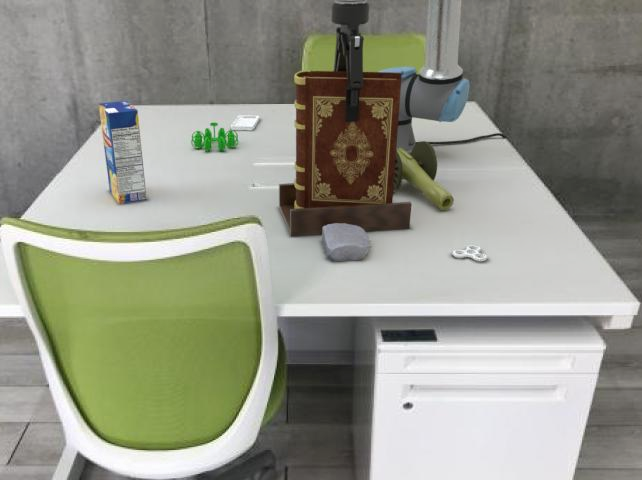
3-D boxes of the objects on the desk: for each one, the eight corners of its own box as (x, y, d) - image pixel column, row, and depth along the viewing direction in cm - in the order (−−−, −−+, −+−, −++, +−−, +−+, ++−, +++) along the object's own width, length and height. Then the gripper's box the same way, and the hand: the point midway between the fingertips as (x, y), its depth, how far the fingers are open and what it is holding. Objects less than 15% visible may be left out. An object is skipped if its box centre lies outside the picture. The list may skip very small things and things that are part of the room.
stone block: (361, 245, 159) (317, 238, 158) (367, 225, 157) (322, 218, 155) (371, 270, 149) (324, 263, 148) (377, 249, 147) (330, 242, 145)
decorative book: (292, 213, 166) (291, 77, 151) (297, 201, 173) (297, 69, 158) (390, 218, 163) (400, 79, 147) (392, 206, 169) (401, 72, 154)
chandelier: (228, 155, 212) (227, 131, 209) (182, 151, 216) (180, 127, 213) (246, 141, 224) (246, 119, 221) (202, 138, 229) (201, 115, 225)
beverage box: (119, 204, 178) (108, 113, 167) (109, 190, 187) (98, 103, 175) (146, 200, 180) (137, 110, 169) (135, 187, 189) (126, 100, 178)
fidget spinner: (488, 261, 147) (489, 257, 147) (457, 262, 147) (458, 259, 146) (477, 247, 153) (478, 244, 153) (447, 248, 153) (448, 245, 152)
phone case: (252, 130, 235) (260, 119, 248) (252, 126, 235) (260, 115, 247) (230, 130, 236) (239, 118, 249) (230, 125, 236) (238, 114, 248)
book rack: (387, 201, 178) (389, 177, 175) (409, 228, 163) (411, 203, 160) (279, 207, 175) (278, 183, 172) (291, 236, 160) (291, 210, 156)
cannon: (466, 207, 174) (472, 161, 168) (424, 215, 170) (429, 168, 164) (410, 177, 193) (414, 134, 188) (371, 183, 189) (374, 140, 184)
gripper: (383, 7, 136) (376, 127, 148) (356, -5, 155) (351, 103, 166) (344, 8, 136) (340, 129, 147) (321, -4, 154) (319, 104, 166)
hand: (346, 115), depth 157 cm, fingers closed on decorative book, 9 cm apart
